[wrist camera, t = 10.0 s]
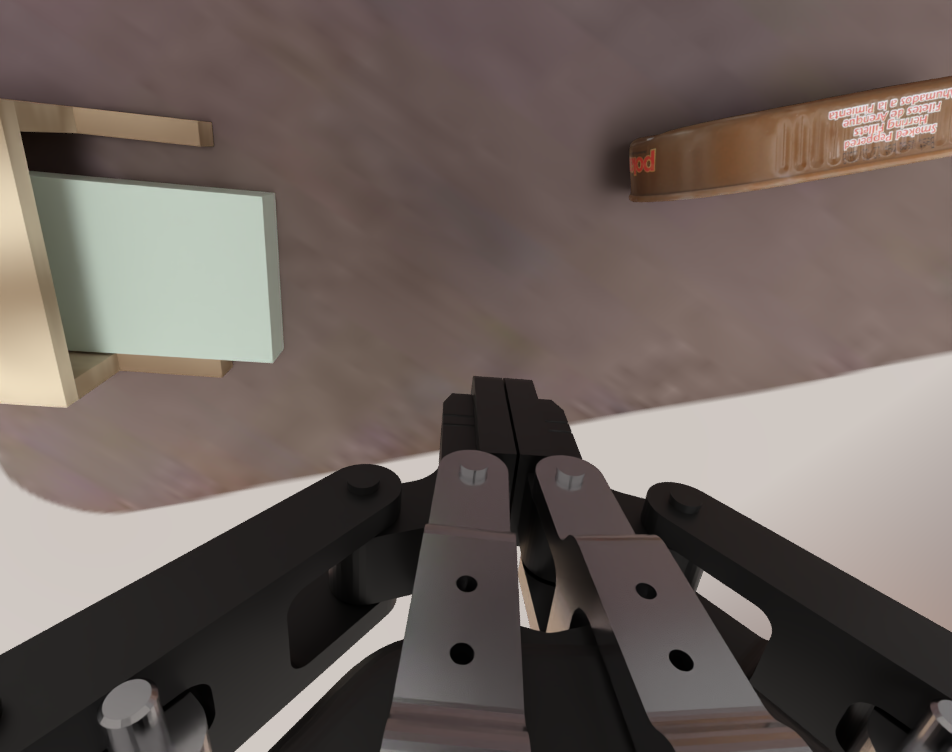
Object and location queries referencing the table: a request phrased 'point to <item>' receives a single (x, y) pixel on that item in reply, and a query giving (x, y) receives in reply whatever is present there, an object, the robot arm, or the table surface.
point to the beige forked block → (28, 272)
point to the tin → (796, 143)
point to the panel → (162, 267)
